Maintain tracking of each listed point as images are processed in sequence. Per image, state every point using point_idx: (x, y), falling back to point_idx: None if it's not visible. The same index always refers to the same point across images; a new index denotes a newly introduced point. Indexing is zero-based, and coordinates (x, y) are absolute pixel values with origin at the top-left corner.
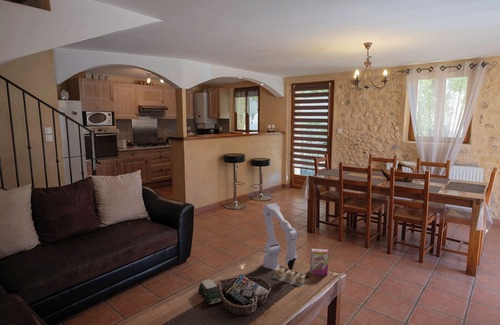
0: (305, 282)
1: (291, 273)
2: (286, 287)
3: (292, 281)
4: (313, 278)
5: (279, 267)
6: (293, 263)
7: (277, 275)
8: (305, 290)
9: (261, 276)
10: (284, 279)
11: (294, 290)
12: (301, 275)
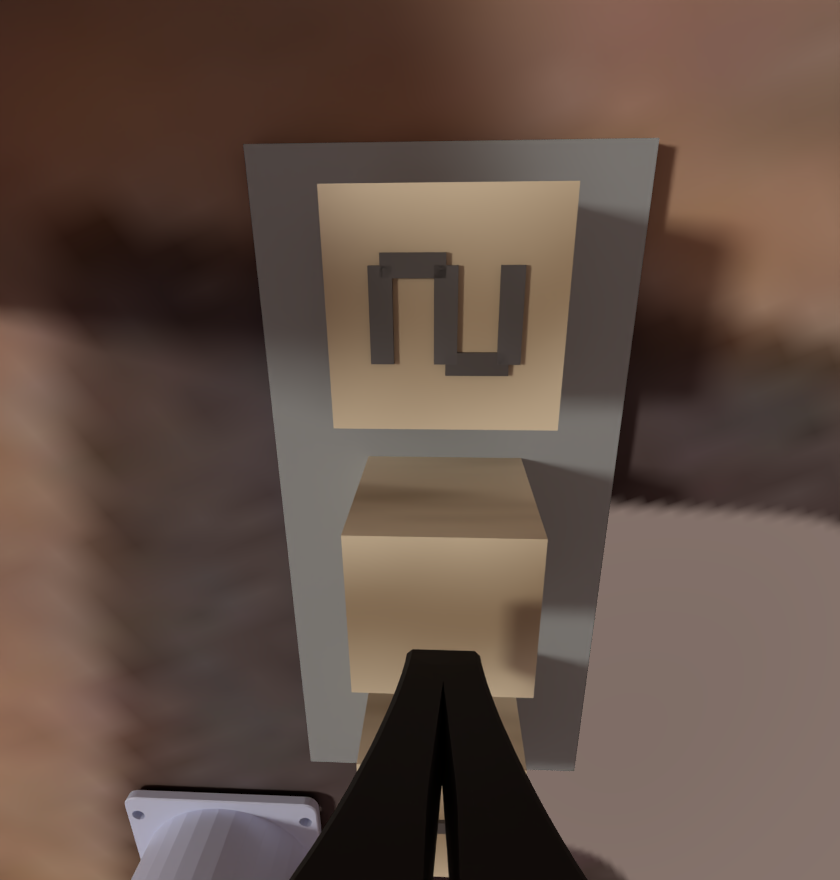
0: (406, 168)
1: (494, 577)
2: (759, 468)
3: (522, 448)
4: (69, 72)
5: None
6: (422, 867)
7: None
8: (728, 31)
9: (583, 871)
10: None
11: (821, 282)
12: (460, 284)
